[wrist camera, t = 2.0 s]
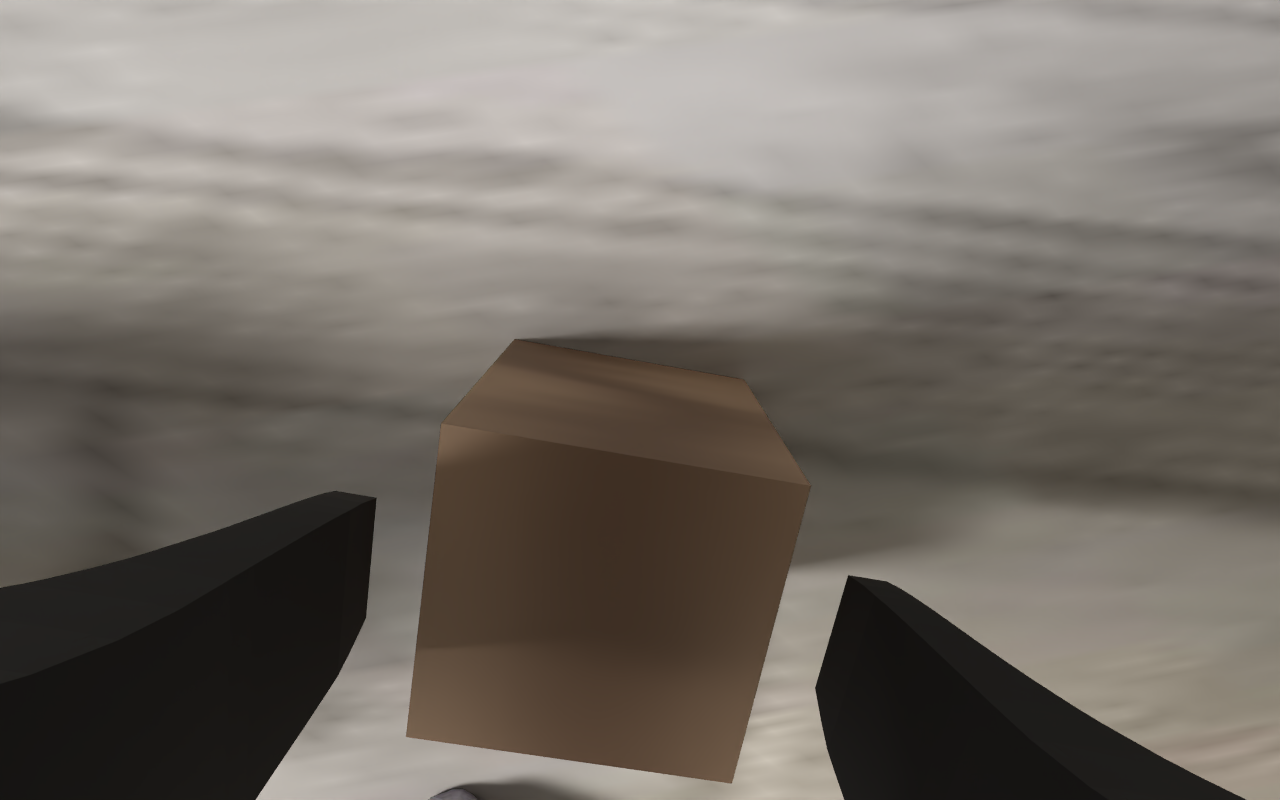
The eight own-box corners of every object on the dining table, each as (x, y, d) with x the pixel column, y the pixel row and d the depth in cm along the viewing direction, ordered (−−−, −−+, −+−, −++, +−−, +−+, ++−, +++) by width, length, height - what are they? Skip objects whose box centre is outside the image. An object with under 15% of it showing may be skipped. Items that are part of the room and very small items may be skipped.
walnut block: (486, 548, 16) (406, 737, 11) (515, 339, 15) (441, 423, 9) (697, 581, 17) (732, 783, 11) (744, 379, 15) (810, 485, 10)
